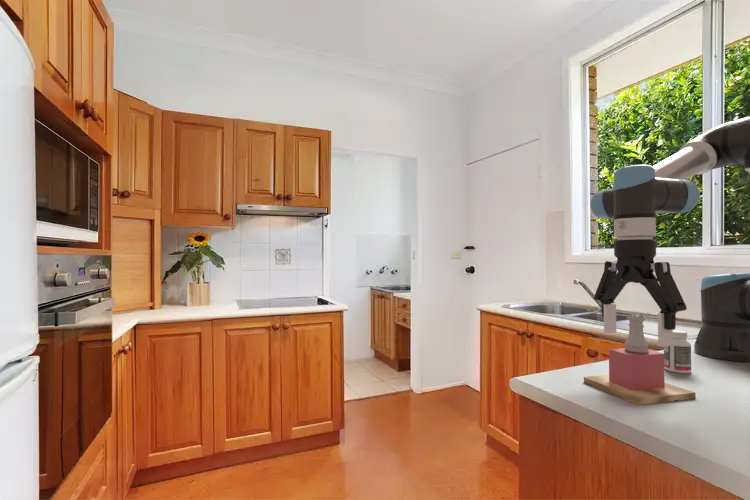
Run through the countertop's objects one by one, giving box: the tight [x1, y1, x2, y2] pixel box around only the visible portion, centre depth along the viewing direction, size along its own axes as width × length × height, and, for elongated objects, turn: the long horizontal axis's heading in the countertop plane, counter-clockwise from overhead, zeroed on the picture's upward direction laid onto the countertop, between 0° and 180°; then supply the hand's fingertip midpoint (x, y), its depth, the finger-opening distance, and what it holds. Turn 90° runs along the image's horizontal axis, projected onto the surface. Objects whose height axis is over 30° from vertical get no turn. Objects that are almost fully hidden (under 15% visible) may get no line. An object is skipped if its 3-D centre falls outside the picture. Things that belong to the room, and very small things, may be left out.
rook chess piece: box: [623, 312, 650, 354], centre depth 85 cm, size 4×4×8 cm
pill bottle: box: [663, 329, 692, 374], centre depth 98 cm, size 5×5×10 cm
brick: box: [608, 347, 666, 390], centre depth 85 cm, size 8×6×7 cm
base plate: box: [583, 374, 697, 406], centre depth 85 cm, size 14×14×1 cm
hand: (635, 338), depth 85 cm, fingers open, 13 cm apart
